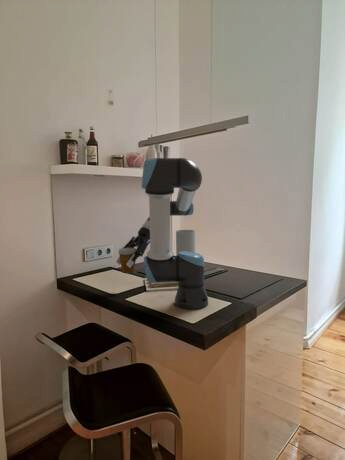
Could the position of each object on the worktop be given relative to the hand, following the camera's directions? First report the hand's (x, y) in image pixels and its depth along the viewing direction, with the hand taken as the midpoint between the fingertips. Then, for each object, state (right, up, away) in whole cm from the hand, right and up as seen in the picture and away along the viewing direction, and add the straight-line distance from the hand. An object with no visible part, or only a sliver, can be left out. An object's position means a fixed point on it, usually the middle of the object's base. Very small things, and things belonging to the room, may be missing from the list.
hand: (122, 264), depth 156 cm
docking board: (+21, -12, +14) cm, 28 cm away
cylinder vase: (+34, -8, +50) cm, 61 cm away
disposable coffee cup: (+2, -4, +3) cm, 6 cm away
